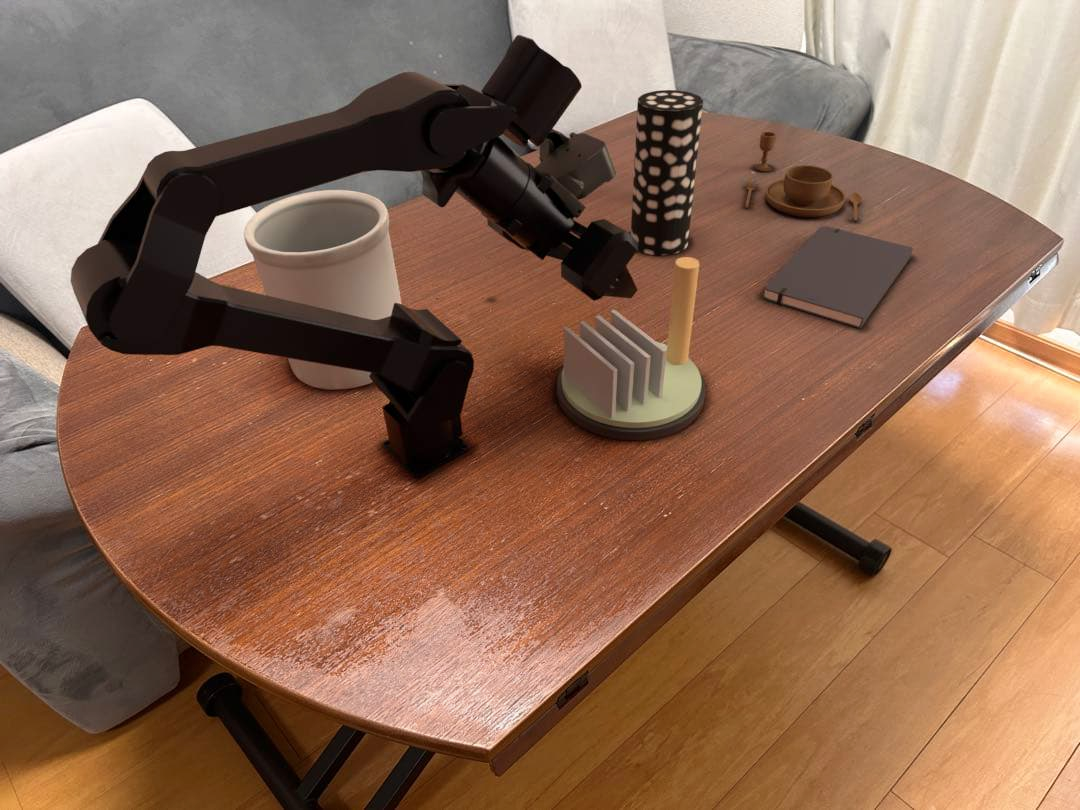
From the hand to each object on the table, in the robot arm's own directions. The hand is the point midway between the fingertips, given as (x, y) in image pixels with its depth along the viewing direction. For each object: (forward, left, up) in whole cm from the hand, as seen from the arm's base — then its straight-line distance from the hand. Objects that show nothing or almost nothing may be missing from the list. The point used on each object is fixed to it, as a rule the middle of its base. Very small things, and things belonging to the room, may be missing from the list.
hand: (606, 276), depth 76 cm
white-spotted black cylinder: (+29, +19, -14) cm, 37 cm away
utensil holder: (-19, +24, -14) cm, 33 cm away
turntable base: (+1, -3, -13) cm, 14 cm away
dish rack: (+1, -3, -12) cm, 13 cm away
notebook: (+39, -4, -14) cm, 42 cm away
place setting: (+58, +15, -14) cm, 61 cm away
